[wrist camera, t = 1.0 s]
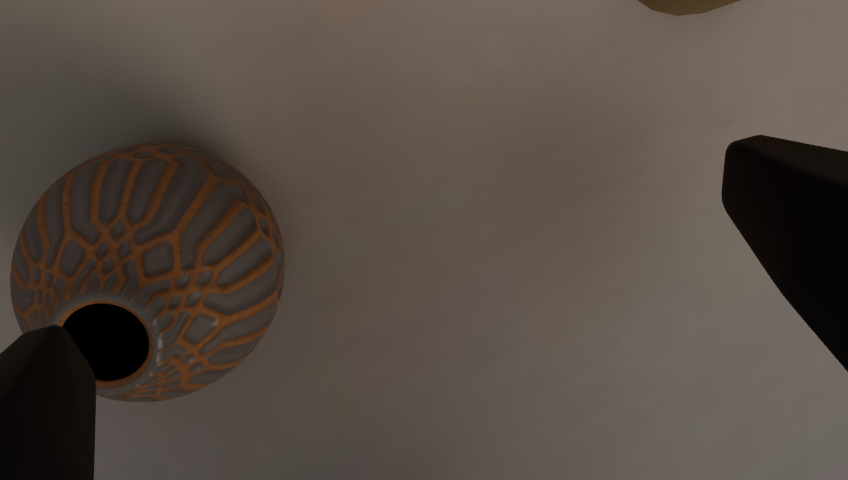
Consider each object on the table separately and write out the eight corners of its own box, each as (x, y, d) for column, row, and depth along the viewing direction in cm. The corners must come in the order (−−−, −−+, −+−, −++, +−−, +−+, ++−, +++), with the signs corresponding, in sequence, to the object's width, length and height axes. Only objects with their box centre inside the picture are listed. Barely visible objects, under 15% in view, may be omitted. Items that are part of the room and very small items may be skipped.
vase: (213, 89, 21) (144, 117, 13) (327, 266, 24) (331, 387, 15) (26, 198, 21) (-162, 296, 13) (157, 364, 24) (66, 539, 15)
